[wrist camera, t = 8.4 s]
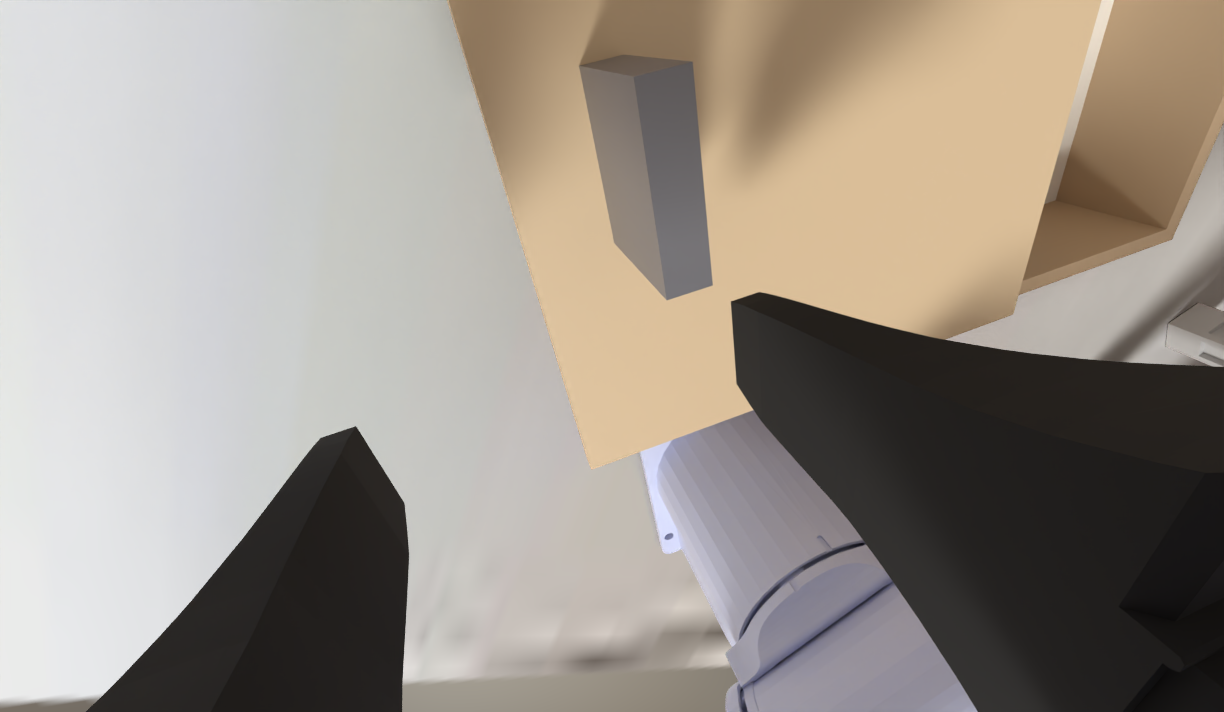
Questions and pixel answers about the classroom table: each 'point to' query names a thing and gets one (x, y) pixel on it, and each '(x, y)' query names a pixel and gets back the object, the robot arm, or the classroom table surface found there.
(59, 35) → the classroom table surface
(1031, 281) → the tan shallow tray
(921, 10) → the lid
